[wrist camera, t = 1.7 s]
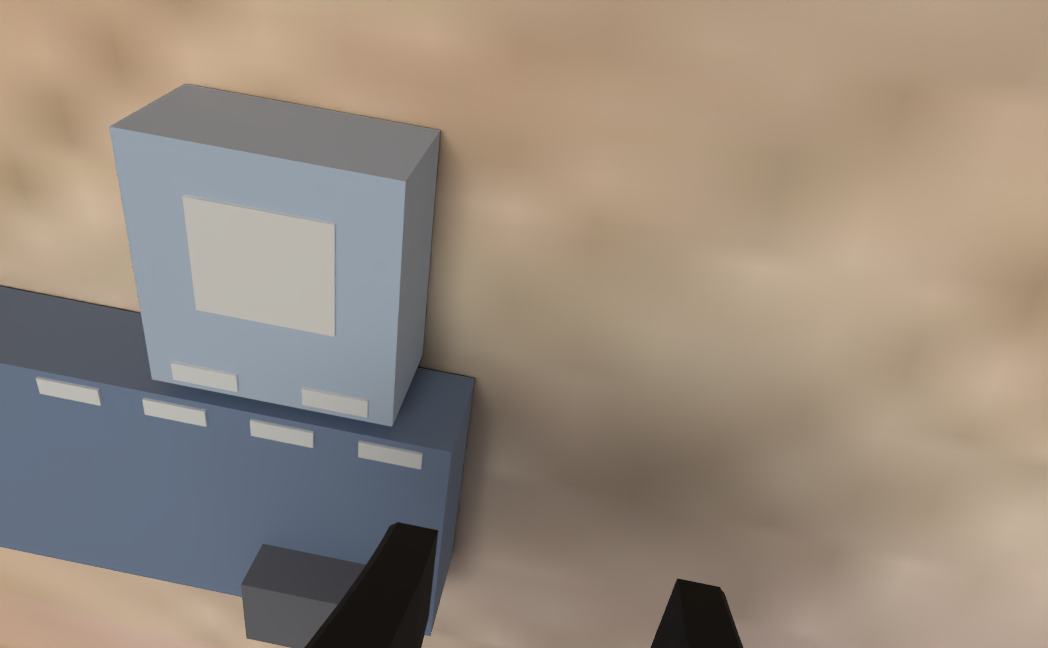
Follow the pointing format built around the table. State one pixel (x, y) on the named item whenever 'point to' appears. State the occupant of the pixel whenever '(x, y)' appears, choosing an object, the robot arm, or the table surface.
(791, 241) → the table surface
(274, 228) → the light blue box
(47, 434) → the network switch box
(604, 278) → the table surface
